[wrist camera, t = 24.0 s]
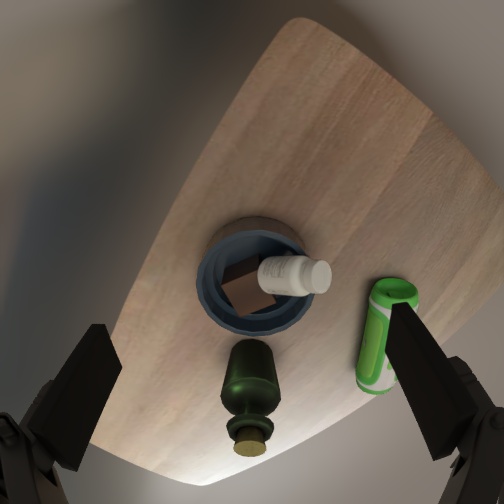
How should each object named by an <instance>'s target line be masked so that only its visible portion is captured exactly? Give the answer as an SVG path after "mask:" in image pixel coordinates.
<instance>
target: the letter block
mask: <svg viewBox="0 0 504 504" xmlns="http://www.w3.org/2000/svg"><path fill="white" fill-rule="evenodd" d="M262 262H263V261H262V259H261V257H260V255H259V254H256V255H253V256H251V257H249V258H247V259H244V260H242V261H240V262H238V263H235V264H233V265H231V266H228V267H226V268H224V273H223V277H222V282H221V287H222V289H223V290H224V292H225V294H226V295H227V297H228V299H229V301H230V302H231V304H232V306H233V307H234V309H235V311H236V312H237V314H238V316H239V317H242V316H245V315H247V314H250V313H252V312H255V311H258V310H260V309H263V308H265V307H267V306H270V305H272V304H275V303H276V296H275V294H269V293H266V292H265V291H263V290H262V288H261V287H260V285H259V282H258V276H257V274H258V269H259V266H260V264H261V263H262Z"/></svg>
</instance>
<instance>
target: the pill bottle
mask: <svg viewBox="0 0 504 504" xmlns="http://www.w3.org/2000/svg"><path fill="white" fill-rule="evenodd" d="M257 276H258V282H259V285H260V287H261V288H262V290H263V291H265V292H266V293H269V294H278V295H289V296H306V295H308V294H309V293H316V294H322V293H325V292H326V291H327V290H328V288H329V287H330V284H331V279H332V273H331V268H330V266H329V264H328V263H327V262H326V261H324V260H311V259H310V258H309V257H307V256H274V257H268V258H266V259H264V260H263V262H262V263H261V264H260V266H259V269H258V274H257Z"/></svg>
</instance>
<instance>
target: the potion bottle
mask: <svg viewBox="0 0 504 504" xmlns="http://www.w3.org/2000/svg"><path fill="white" fill-rule="evenodd" d="M220 397H221V400H222V404H223V405H224V407H225V408H226V409H227V410H228V411H229V412H230V413H231V414H233V415H235V416H234V417H233V418H231V419H230V420H229V421H228V423H227V425H226V427H227V430H228V433H229V436H230V438H231V439H232V440H234V441H235V444H234V447H233V449H234V451H235V452H236V453H237V454H239V455H242V456H247V457H255V456H259V455H261V454H263V453H265V451H266V445H265V441H267V440H269V439H270V437H271V435H272V433H273V430H274V423H273V422H272V421H271V420H270V419H269V418H267V417H265V416H268V415H269V414H271V413H272V412H273V411H274V410H275V409H276V408H277V406H278V404H279V402H280V401H281V394H280V388H279V383H278V379H277V374H276V369H275V364H274V359H273V354H272V351H271V349H270V348H269V346H268V345H266V344H265V343H263V342H262V341H257V340H244V341H242V342H239V343H237V344H236V345H235V346H234V347H233V348H232V351H231V354H230V358H229V362H228V366H227V370H226V375H225V379H224V383H223V387H222V391H221V395H220Z"/></svg>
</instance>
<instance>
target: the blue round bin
mask: <svg viewBox="0 0 504 504" xmlns="http://www.w3.org/2000/svg"><path fill="white" fill-rule="evenodd" d="M256 254H259V255H260V257H261V259H262V261H263V260H264V259H266V258H268V257H274V256H307V257H309V255H308V252H307V250H306V248H305V245H304V243H303V241H302V240H301V239H300V238H299V236H298V235H297V234H296V233H295V232H294V231H293V230H292V229H291V228H289V227H288V226H286V225H284V224H283V223H281V222H279V221H277V220H273V219H268V218H264V217H249V218H241V219H239V220H237V221H234V222H232V223H229V224H227V225H225V226H224V227H223V228H222V229H221V230H220V231H218V232H217V233H216V234H215V235H214V236H213V237H212V239H211V241H210V242H209V244H208V246H207V248H206V249H205V252H204V254H203V257H202V259H201V262H200V265H199V267H198V273H197V279H196V288H197V293H198V298H199V301H200V303H201V304H202V306H203V308H204V310H205V311H206V313H207V315H208V316H210V317H211V318H212V319H213V320H214V321H215V322H216V323H217V324H218V325H219V326H221V327H223V328H225V329H227V330H229V331H231V332H233V333H237V334H242V335H247V336H265V335H272V334H275V333H277V332H280V331H283V330H286V329H287V328H289V327H290V326H292V325H293V324H295V323H296V322H297V321H299V320H300V319H301V318H302V316H303V315H304V314H305V313H306V311H307V310H308V309H309V308H310V306H311V303H312V300H313V298H314V295H315V293H309V294H308V295H306V296H289V295H278V294H275V296H276V303H275V304H272V305H270V306H267V307H265V308H263V309H260V310H258V311H255V312H252V313H250V314H247V315H245V316H242V317H239V316H238V314H237V312H236V311H235V309H234V307H233V306H232V304H231V302H230V301H229V299H228V297H227V295H226V294H225V292H224V290H223V289H222V287H221V282H222V277H223V273H224V268H226V267H228V266H231V265H233V264H235V263H238V262H240V261H242V260H244V259H247V258H249V257H251V256H253V255H256ZM309 258H310V257H309Z"/></svg>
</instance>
